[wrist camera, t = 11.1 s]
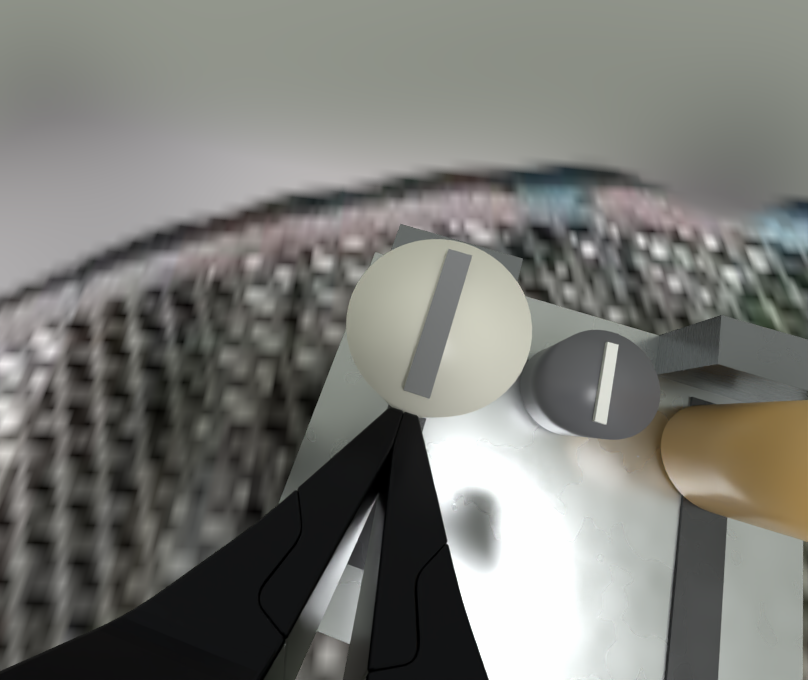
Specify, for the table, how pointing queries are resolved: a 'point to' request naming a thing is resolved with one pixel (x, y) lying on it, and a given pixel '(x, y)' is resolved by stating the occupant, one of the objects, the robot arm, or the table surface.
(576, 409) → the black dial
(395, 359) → the cream knob
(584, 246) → the table surface
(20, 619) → the table surface
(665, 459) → the orange knob
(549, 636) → the console plate
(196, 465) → the table surface
